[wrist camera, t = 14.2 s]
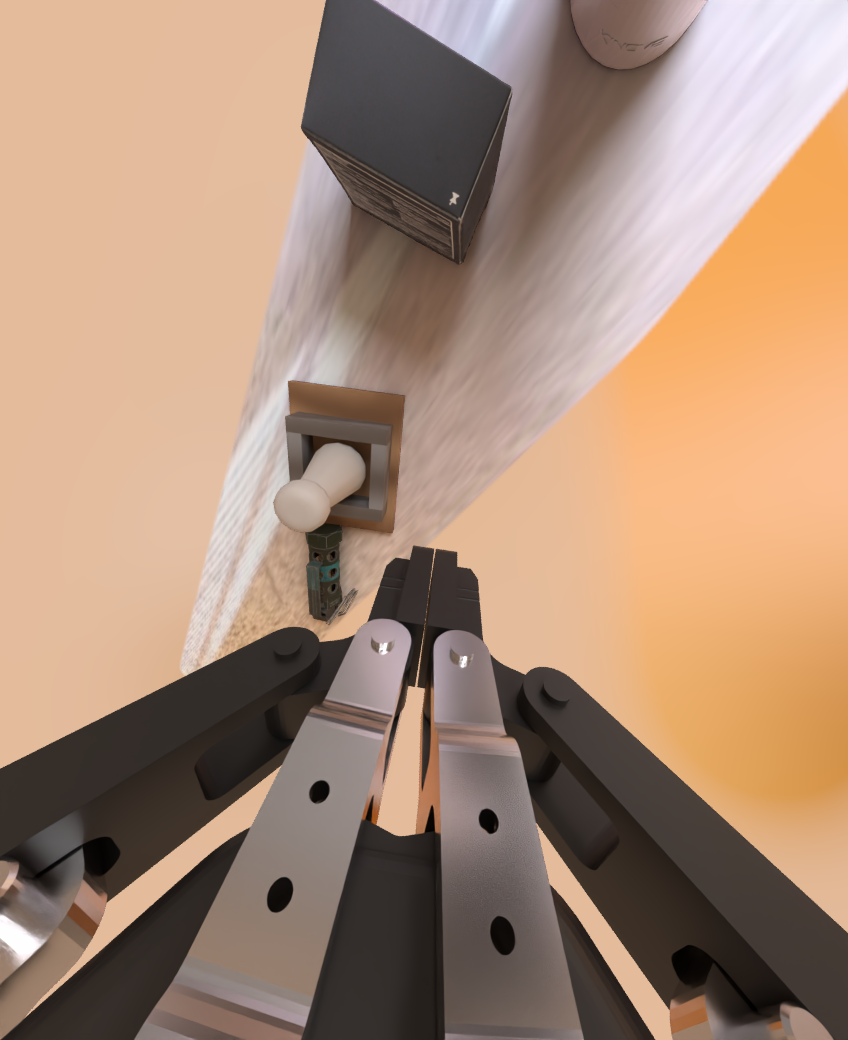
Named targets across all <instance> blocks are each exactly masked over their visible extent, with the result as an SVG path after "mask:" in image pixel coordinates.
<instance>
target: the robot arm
mask: <svg viewBox="0 0 848 1040" xmlns="http://www.w3.org/2000/svg"><path fill="white" fill-rule="evenodd" d="M707 1H708V0H570V5H571V13H572V17H573V22H574V26H575V30H576V32H577V34H578V37H579V39H580V41H581V43H582V45H583V47H584V48H585V49H586V50H587V52H588V53H589V54H590V55H591V57H592V58H593V59H595V60H596V61H598V62H599V63H601V64H602V65H604V66H607V67H610V68H614V69H633V68H636V67H639V66H642V65H645V64H647V63H649V62H651V61H652V60H654V59H655V58H657V57H659V56H660V55H662V54H663V53H664V52H665V51H667V50H668V49H669V48H670V47H671V46H672V45H673V44H674V43H675V42H676V41H678V39H679V38H680V37H681V36H682V34H683V33H684V32H685V31H686V29H687V28H688V27H689V26H690V25H691V23H692V22H693V20H694V19H695V18H696V16H697V15H698V13H699V12H700V11H701V9H702V8H703V6H704V5H705V4H706V2H707ZM433 554H434V549H432V548H427V547H420V546H413V549H412V553H411V557H410V560H408V559H401V558H395V559H394V560H392V561H391V562H390V563H389V564H388V565H387V566H386V569H385V572H384V575H383V578H382V580H381V583H380V587H379V589H378V593H377V595H376V598H375V601H374V604H373V607H372V610H371V613H370V616H369V619H368V622H367V623H365V624H364V625H362V626H361V627H360V628H359V630H358V631H357V632H356V634H355V635H353V636H351V637H349V638H345V639H342V640H335V641H326V642H319V639H318V637H317V636H316V634H314V633H313V632H312V631H310V630H308V629H306V628H301V627H288V628H283V629H280V630H277V631H275V632H273V633H271V634H269V635H267V636H265V637H263V638H261V639H259V640H257V641H255V642H253V643H251V644H249V645H247V646H245V647H243V648H241V649H239V650H237V651H235V652H233V653H231V654H229V655H227V656H225V657H223V658H221V659H219V660H217V661H215V662H213V663H211V664H209V665H207V666H205V667H203V668H201V669H199V670H197V671H195V672H193V673H191V674H189V675H187V676H185V677H183V678H181V679H179V680H177V681H175V682H173V683H171V684H169V685H167V686H165V687H163V688H161V689H159V690H157V691H155V692H153V693H151V694H149V695H147V696H145V697H143V698H141V699H139V700H137V701H135V702H133V703H131V704H129V705H127V706H125V707H123V708H121V709H119V710H117V711H115V712H113V713H111V714H109V715H107V716H105V717H103V718H101V719H99V720H97V721H95V722H93V723H91V724H89V725H87V726H85V727H83V728H81V729H79V730H77V731H75V732H73V733H71V734H69V735H67V736H65V737H63V738H61V739H59V740H57V741H55V742H53V743H51V744H49V745H47V746H45V747H43V748H41V749H39V750H37V751H35V752H33V753H31V754H29V755H27V756H25V757H23V758H21V759H19V760H17V761H15V762H13V763H11V764H9V765H7V766H5V767H3V768H1V769H0V1040H655V1039H654V1037H653V1035H652V1034H651V1032H650V1031H649V1029H648V1027H647V1026H646V1024H645V1023H644V1021H643V1020H642V1018H641V1017H640V1015H639V1013H638V1012H637V1010H636V1009H635V1007H634V1006H633V1004H632V1002H631V1001H630V999H629V998H628V996H627V994H626V993H625V991H624V990H623V988H622V987H621V985H620V983H619V982H618V980H617V979H616V977H615V976H614V974H613V972H612V971H611V969H610V968H609V966H608V965H607V963H606V961H605V960H604V958H603V957H602V955H601V954H600V952H599V950H598V949H597V947H596V946H595V944H594V942H593V941H592V939H591V938H590V936H589V935H588V933H587V932H586V930H585V928H584V927H583V925H582V924H581V922H580V921H579V919H578V918H577V916H576V915H575V914H574V912H573V911H572V910H571V908H570V907H569V906H568V905H567V903H566V902H565V901H564V899H563V898H562V897H561V896H560V895H559V894H558V893H557V891H556V890H555V889H554V888H553V887H552V886H551V885H550V884H549V880H548V875H547V871H546V866H545V862H544V857H543V853H542V848H541V843H540V839H539V834H538V830H537V825H536V823H537V824H538V826H539V827H540V828H541V830H542V831H543V833H544V834H545V835H546V837H547V838H548V839H549V841H550V842H551V844H552V845H553V847H554V848H555V850H556V851H557V852H558V854H559V855H560V857H561V858H562V859H563V861H564V862H565V864H566V865H567V866H568V868H569V869H570V871H571V872H572V873H573V875H574V876H575V878H576V879H577V881H578V882H579V883H580V885H581V886H582V888H583V889H584V890H585V892H586V893H587V895H588V896H589V897H590V899H591V900H592V902H593V903H594V904H595V906H596V907H597V909H598V910H599V912H600V913H601V914H602V916H603V917H604V919H605V920H606V921H607V923H608V924H609V926H610V927H611V928H612V930H613V931H614V933H615V934H616V935H617V937H618V938H619V940H620V941H621V942H622V944H623V945H624V947H625V948H626V949H627V951H628V952H629V954H630V955H631V957H632V958H633V959H634V961H635V962H636V963H637V965H638V966H639V968H640V969H641V971H642V972H643V974H644V975H645V976H646V978H647V979H648V981H649V982H650V983H651V985H652V986H653V988H654V989H655V990H656V992H657V993H658V995H659V996H660V997H661V999H662V1000H663V1002H664V1003H665V1004H666V1006H667V1007H668V1009H669V1010H670V1026H671V1033H672V1038H673V1040H848V933H847V932H846V931H845V930H844V929H843V928H842V927H841V926H840V925H838V924H837V923H836V922H835V921H834V920H833V919H832V918H831V917H830V916H829V915H828V914H826V913H825V912H824V911H823V910H822V909H821V908H820V907H819V906H818V905H817V904H816V903H814V901H812V900H811V899H810V898H809V897H808V896H807V895H806V894H805V893H804V892H803V891H802V890H800V889H799V888H798V887H797V886H796V885H795V884H794V883H793V882H792V881H791V880H789V879H788V878H787V877H786V876H785V875H784V874H783V873H782V872H781V871H780V870H779V869H777V867H776V866H774V865H773V864H772V863H771V862H770V861H769V860H768V859H767V858H766V857H765V856H764V855H762V854H761V853H760V852H759V851H758V850H757V849H756V848H755V847H754V846H753V845H752V844H750V843H749V842H748V841H747V840H746V839H745V838H744V837H743V836H742V835H741V834H740V833H739V832H738V831H736V830H735V829H734V828H733V827H732V826H731V825H730V824H729V823H728V822H727V821H726V820H724V819H723V818H722V817H721V816H720V815H719V814H718V813H717V812H716V811H715V810H713V809H712V808H711V807H710V806H709V805H708V804H707V803H706V802H705V801H704V800H702V798H701V797H699V796H698V795H697V794H696V793H695V792H694V791H693V790H692V789H691V788H690V787H689V786H688V785H686V784H685V783H684V782H683V781H682V780H681V779H680V778H679V777H678V776H677V775H676V774H675V773H673V772H672V771H671V770H670V769H669V768H668V767H667V766H666V765H665V764H664V763H663V762H661V761H660V760H659V759H658V758H657V757H656V756H655V755H654V754H653V753H652V752H651V751H650V750H648V749H647V748H646V747H645V746H644V745H643V744H642V743H641V742H640V741H639V740H638V739H637V738H635V737H634V736H633V735H632V734H631V733H630V732H629V731H628V730H627V729H625V728H624V727H623V726H622V725H621V724H620V723H619V722H618V721H617V720H616V719H615V718H614V717H613V716H611V715H610V714H609V713H608V712H607V711H606V710H605V709H604V708H603V707H602V706H601V705H600V704H599V703H597V702H596V701H595V700H594V699H593V698H592V697H591V696H590V695H589V694H588V693H587V692H585V691H584V690H583V689H582V688H581V687H580V686H579V685H578V684H577V683H576V682H574V680H572V679H571V678H570V677H569V676H567V675H566V674H564V673H562V672H560V671H558V670H555V669H552V668H548V667H537V668H534V669H532V670H530V671H529V672H528V673H527V674H526V675H524V674H522V673H520V672H518V671H516V670H513V669H511V668H509V667H507V666H505V665H503V664H501V663H500V662H498V661H497V660H496V659H495V658H493V656H492V655H491V654H490V653H489V650H488V648H487V646H486V645H485V644H484V642H483V636H482V624H481V612H480V602H479V592H478V591H479V588H478V579H477V577H476V576H475V574H474V573H473V572H472V570H471V569H467V568H461V567H457V552H454V551H447V550H440V549H436V552H435V558H434V564H433V571H432V562H433ZM431 571H432V577H431ZM430 579H431V584H430ZM429 586H430V590H429ZM428 595H429V597H428ZM427 603H428V605H427ZM426 611H427V613H426ZM425 619H426V621H425ZM424 626H425V629H424ZM423 633H424V637H423ZM422 639H423V645H422ZM421 645H422V654H421V662H420V670H419V678H418V686H417V687H420V688H425V693H424V702H423V708H422V714H421V735H420V771H419V802H418V813H417V823H416V834H415V835H409V836H396V835H393V834H391V833H390V832H388V831H386V830H384V829H382V828H380V827H379V826H377V825H376V824H377V819H378V815H379V809H380V804H381V799H382V794H383V789H384V785H385V780H386V776H387V772H388V768H389V764H390V760H391V756H392V751H393V747H394V743H395V739H396V735H397V730H398V726H399V722H400V718H401V713H402V710H403V708H404V705H405V702H406V696H407V689H408V686H413V687H415V683H416V677H417V670H418V664H419V658H420V652H421ZM281 765H282V766H281ZM280 766H281V768H280V770H279V772H278V774H277V776H276V778H275V780H274V782H273V784H272V786H271V788H270V790H269V792H268V794H267V796H266V798H265V800H264V802H263V804H262V806H261V808H260V810H259V812H258V814H257V816H256V818H255V820H254V822H253V824H252V826H251V827H250V828H248V829H246V830H244V831H243V832H241V833H239V834H237V835H236V836H234V837H232V838H230V839H229V840H228V841H226V842H225V843H224V844H222V845H221V846H219V847H218V848H217V849H215V850H214V851H213V852H212V853H210V854H209V855H208V856H207V857H206V858H204V859H203V860H202V861H201V862H200V863H199V864H198V865H197V866H195V867H194V868H193V869H192V870H191V871H190V872H189V873H188V874H187V875H185V876H184V877H183V878H182V879H181V880H180V881H178V882H177V883H176V884H175V885H174V886H173V887H172V888H171V889H169V890H168V891H167V892H166V893H165V894H164V895H163V896H162V897H161V898H159V899H158V900H157V901H156V902H155V903H154V904H153V905H152V906H150V907H149V908H148V909H147V910H146V911H145V912H144V913H142V914H141V915H140V916H139V917H138V918H137V919H136V920H135V921H134V922H132V923H131V924H130V925H129V926H128V927H127V928H126V929H124V931H122V932H121V933H120V934H119V935H118V936H117V937H116V938H114V939H113V940H112V941H111V942H110V943H109V944H108V945H107V946H105V947H104V948H103V949H102V950H101V951H100V952H99V953H98V954H96V955H95V956H94V957H93V958H92V959H91V960H90V961H89V962H87V963H86V964H85V965H84V966H83V967H82V968H81V969H80V970H78V971H77V972H76V973H75V974H74V975H73V976H72V977H71V978H69V979H68V980H67V981H66V982H65V983H64V984H63V985H62V986H60V987H59V988H58V989H57V990H56V991H55V992H54V993H53V994H52V995H50V996H49V997H48V998H47V999H46V1000H45V1001H44V1002H42V1003H41V1004H40V1005H39V1006H38V1007H37V1008H36V1009H35V1010H33V1011H32V1012H31V1013H30V1014H29V1015H28V1016H27V1017H26V1018H25V1016H26V1015H27V1014H28V1013H29V1011H30V1010H31V1009H32V1008H33V1007H34V1006H35V1005H36V1003H37V1002H38V1001H39V1000H40V999H41V998H42V997H43V996H44V995H45V994H46V993H47V992H48V991H49V990H50V989H51V988H52V987H53V986H54V985H55V984H56V983H57V982H58V981H59V980H60V979H61V978H62V977H63V976H64V975H65V974H66V973H67V972H68V971H69V970H70V969H71V967H72V966H73V965H74V964H75V963H76V962H77V961H78V960H79V958H80V957H81V955H82V954H83V952H84V951H85V949H86V948H87V946H88V944H89V943H90V941H91V940H92V938H93V936H94V934H95V932H96V930H97V928H98V927H99V924H100V922H101V919H102V917H103V914H104V911H105V907H106V903H107V902H108V901H109V900H111V899H112V898H113V897H115V896H116V895H117V894H118V893H120V892H121V891H122V890H124V889H125V888H126V887H127V886H129V885H130V884H131V883H132V882H134V881H135V880H136V879H137V878H139V877H140V876H141V875H142V874H144V873H145V872H146V871H148V870H149V869H150V868H151V867H153V866H154V865H155V864H157V863H158V862H159V861H160V860H162V859H163V858H164V857H165V856H167V855H168V854H169V853H171V852H172V851H173V850H174V849H175V848H177V847H178V846H179V845H181V844H182V843H183V842H184V841H186V840H187V839H188V838H189V837H191V836H192V835H193V834H195V833H196V832H197V831H198V830H200V829H201V828H202V827H204V826H205V825H206V824H207V823H209V822H210V821H211V820H212V819H214V818H215V817H216V816H217V815H219V814H220V813H221V812H223V811H224V810H225V809H226V808H228V807H229V806H230V805H231V804H233V803H234V802H235V801H237V800H238V799H239V798H240V797H242V796H243V795H244V794H245V793H247V792H248V791H249V790H251V789H252V788H253V787H254V786H256V785H257V784H258V783H259V782H261V781H262V780H263V779H264V778H266V777H267V776H268V775H270V774H271V773H272V772H273V771H275V770H276V769H277V768H278V767H280Z"/></svg>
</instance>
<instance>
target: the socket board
mask: <svg viewBox="0 0 848 1040" xmlns="http://www.w3.org/2000/svg"><path fill="white" fill-rule="evenodd" d="M288 388H289V402H290V415H288V416H285V420H286V433H287V447H288V460H289V474H290V481H292V480H301V478H302V476H303V474H304V472H305V471H306V469H307V467H308V465H309V463H310V462H311V460H312V458H313V456H314V454H315V453H316V451H317V450H319V449H320V448H321V447H322V446H324V445H325V444H331V443H338V442H339V443H342V444H346V445H349V446H351V447H353V448H354V449H355V450H356V451H357V452H358V453H359V454H360V455H361V457H362V459H363V461H364V463H365V467H366V477H365V480H364V482H363V483H362V485H361V487H360V489H358V490H357V491H355V492H354V493H352V494H351V495H349V496H348V497H346V498H344V499H343V500H341V501H340V502H338V503H337V504H335V505H334V506H332V507H331V509H330V513H329V515H328V517H327V519H326V521H325V523H328V524H335V525H342V526H348V527H355V528H362V529H369V530H375V531H382V532H389V533H393V530H394V520H395V509H396V497H397V485H398V473H399V461H400V450H401V438H402V426H403V414H404V402H405V396H403V395H396V394H389V393H381V392H374V391H367V390H359V389H352V388H344V387H337V386H330V385H322V384H315V383H308V382H300V381H293V380H292V381H288Z"/></svg>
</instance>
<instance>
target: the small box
mask: <svg viewBox="0 0 848 1040" xmlns="http://www.w3.org/2000/svg"><path fill="white" fill-rule="evenodd" d="M511 97H512V88H511V86H509V85H507V84H506V83H504V82H503V81H501V80H499V79H498V78H496V77H495V76H493V75H492V74H490V73H489V72H487V71H485V70H484V69H482V68H481V67H479V66H477V65H476V64H474V63H473V62H471V61H469V60H468V59H466V58H465V57H463V56H462V55H460V54H458V53H457V52H455V51H454V50H452V49H450V48H449V47H447V46H446V45H444V44H443V43H441V42H439V41H438V40H436V39H435V38H433V37H432V36H430V35H428V34H427V33H425V32H424V31H422V30H420V29H419V28H417V27H416V26H414V25H413V24H411V23H410V22H408V21H407V20H405V19H404V18H402V17H401V16H399V15H397V14H396V13H394V12H393V11H391V10H390V9H388V8H387V7H385V6H383V5H382V4H380V3H379V2H377V1H376V0H326V3H325V8H324V13H323V18H322V22H321V28H320V32H319V38H318V43H317V47H316V52H315V57H314V63H313V68H312V73H311V78H310V82H309V88H308V93H307V98H306V103H305V108H304V113H303V119H302V124H301V129H302V131H303V133H304V134H305V135H306V137H307V138H308V139H309V140H310V141H311V142H312V144H313V145H314V146H315V147H316V149H317V150H318V152H319V153H320V155H321V156H322V157H323V159H324V160H325V162H326V163H327V165H328V166H329V168H330V169H331V171H332V172H333V174H334V175H335V177H336V178H337V180H338V181H339V183H340V184H341V186H342V187H343V189H344V190H345V192H346V193H347V195H348V197H349V198H350V200H351V202H352V204H353V205H355V206H357V207H359V208H361V209H362V210H364V211H365V212H367V213H369V214H371V215H373V216H374V217H376V218H378V219H380V220H381V221H383V222H385V223H386V224H388V225H390V226H392V227H393V228H395V229H397V230H398V231H400V232H402V233H404V234H406V235H408V236H409V237H411V238H413V239H414V240H416V241H417V242H419V243H421V244H423V245H425V246H427V247H428V248H430V249H432V250H433V251H435V252H437V253H439V254H441V255H443V256H445V257H446V258H448V259H450V260H452V261H454V262H455V263H457V264H460V263H462V262H463V261H464V258H465V256H466V251H467V248H468V246H469V245H470V241H471V240H472V238H473V233H474V232H475V229H476V227H477V224H478V222H479V221H480V217H481V215H482V213H483V210H484V209H485V208H486V205H487V203H488V199H489V197H490V194H491V190H492V188H493V185H494V182H495V177H496V171H497V166H498V161H499V156H500V150H501V145H502V140H503V136H504V131H505V126H506V121H507V115H508V110H509V105H510V100H511Z"/></svg>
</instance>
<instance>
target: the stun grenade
mask: <svg viewBox="0 0 848 1040" xmlns="http://www.w3.org/2000/svg"><path fill="white" fill-rule="evenodd" d="M305 533H306V539H307V544H308V546H309V552H310V553H309V563H308V564H307V566H306V568H307V583H308V598H309V612H310V615H312V616H313V618H314V619H317V620H322V621H326V622H327V623H326V624H328V623H329V624H328V625H330V624H331V623H332V621H333V620H334V619H335V617H336V616H337V614H340V613H343V612H344V611H345V609H346V607H347V605H348V603H349V601H350V599H351V597H352V596H353V595H354V594H355V593H356V594H357V592H358V590H357V591H355V592H354V590H355V588H354V589H353V590H351V592H352V591H353V592H352V594H351V596H350V598H349V599H348V596H349V595H350V593H351V592H350V593H349V594H348V595H347V596H345V597H344V599H343V601H342V591H341V587H340V583H339V577H340V569H339V561H340V560H339V542H340V541H342V529H341V526H340V525H335V524H328V523H324V524H323V525H321V526H320V527H318V528H317V529H315V530H313V531H312V532H305ZM330 555H331V556H332V557H333V558H334V559H333V560H330ZM317 556H319V561H317V560H316V559H315V558H316V557H317ZM330 570H331V571H333V573H334V576H332V577H331V573H330ZM332 584H335V585H336V587H335V590H332ZM356 594H355V595H354V597H353V599H352V601H351V603H350V605H349V607H350V606H351V604H352V602H353V600H354V598H355V596H356ZM347 599H348V600H347ZM344 601H345V602H344ZM343 602H344V603H343ZM339 603H340V604H339ZM346 603H347V604H346ZM338 604H339V606H338ZM342 604H343V605H342ZM345 604H346V606H345V608H344V610H343V611H342V612H340V610H341V609H342V607H343V606H344V605H345ZM341 605H342V606H341ZM340 606H341V608H340ZM349 607H348V608H347V610H346V612H345V613H343V614H340V615H338V616H341V615H344V614H346V613H347V611H348V609H349ZM339 608H340V609H339ZM338 609H339V610H338ZM337 610H338V611H337ZM333 616H334V617H333ZM332 617H333V618H332Z"/></svg>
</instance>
